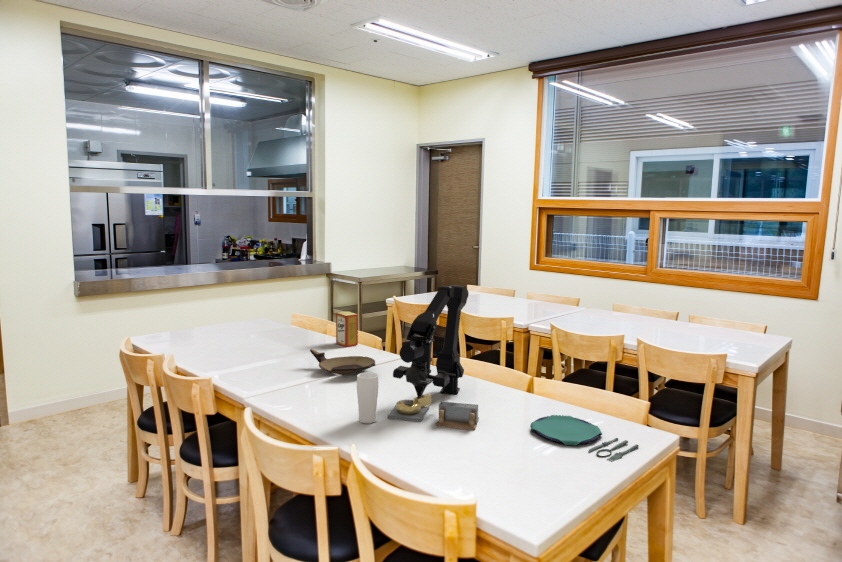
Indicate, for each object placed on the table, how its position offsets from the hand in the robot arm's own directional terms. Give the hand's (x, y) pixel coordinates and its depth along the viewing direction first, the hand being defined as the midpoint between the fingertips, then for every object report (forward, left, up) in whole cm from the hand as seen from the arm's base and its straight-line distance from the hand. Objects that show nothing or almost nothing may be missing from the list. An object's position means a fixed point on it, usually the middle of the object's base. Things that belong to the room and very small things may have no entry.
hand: (419, 400), depth 189 cm
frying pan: (-32, -40, -3) cm, 52 cm away
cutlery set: (+12, +52, -3) cm, 54 cm away
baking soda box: (-75, -55, -3) cm, 93 cm away
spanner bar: (+10, +15, -2) cm, 18 cm away
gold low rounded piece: (+5, 0, -1) cm, 5 cm away
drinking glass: (+17, -13, -3) cm, 21 cm away
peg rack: (+10, +15, -2) cm, 18 cm away
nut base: (+7, -2, -2) cm, 8 cm away
